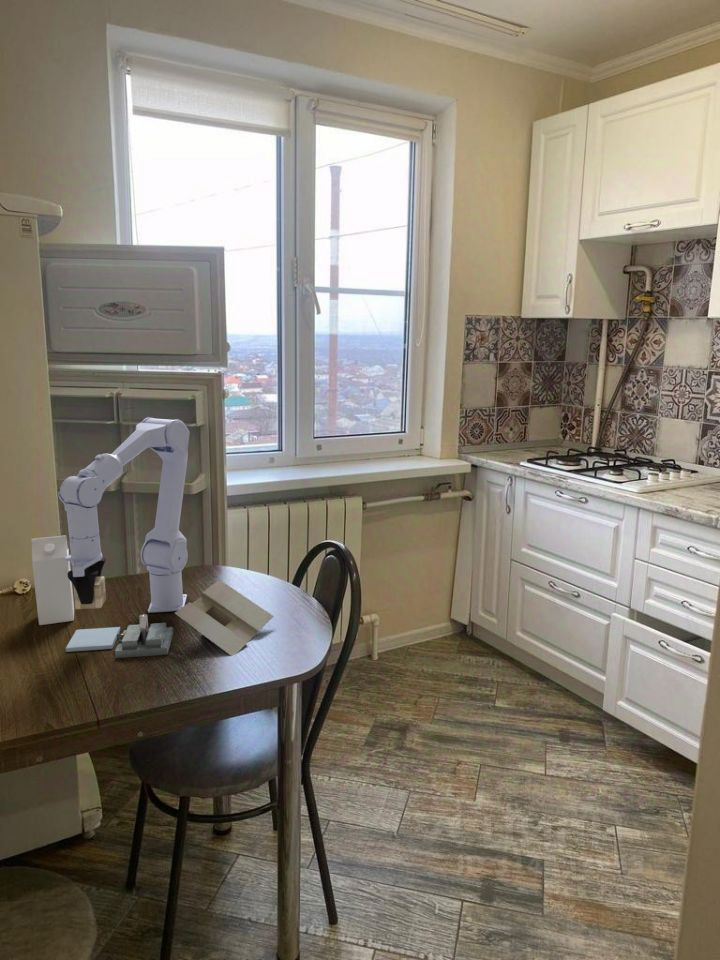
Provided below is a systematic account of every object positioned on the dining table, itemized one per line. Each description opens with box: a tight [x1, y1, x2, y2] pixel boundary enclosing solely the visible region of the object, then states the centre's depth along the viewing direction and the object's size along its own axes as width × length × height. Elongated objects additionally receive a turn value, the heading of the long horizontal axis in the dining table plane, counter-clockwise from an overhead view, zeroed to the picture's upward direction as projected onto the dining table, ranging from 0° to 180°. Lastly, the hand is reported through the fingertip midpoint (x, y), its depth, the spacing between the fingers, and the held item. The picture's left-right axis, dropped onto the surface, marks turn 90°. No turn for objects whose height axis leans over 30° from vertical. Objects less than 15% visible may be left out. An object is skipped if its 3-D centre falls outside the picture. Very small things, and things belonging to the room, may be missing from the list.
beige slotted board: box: [174, 579, 274, 657], centre depth 149 cm, size 16×9×15 cm
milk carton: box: [30, 535, 75, 626], centre depth 157 cm, size 7×7×19 cm
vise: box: [114, 613, 174, 659], centre depth 144 cm, size 10×10×6 cm
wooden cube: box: [72, 575, 107, 610], centre depth 145 cm, size 5×5×5 cm
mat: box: [65, 626, 121, 653], centre depth 147 cm, size 9×9×1 cm
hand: (90, 598), depth 145 cm, fingers closed on wooden cube, 5 cm apart
